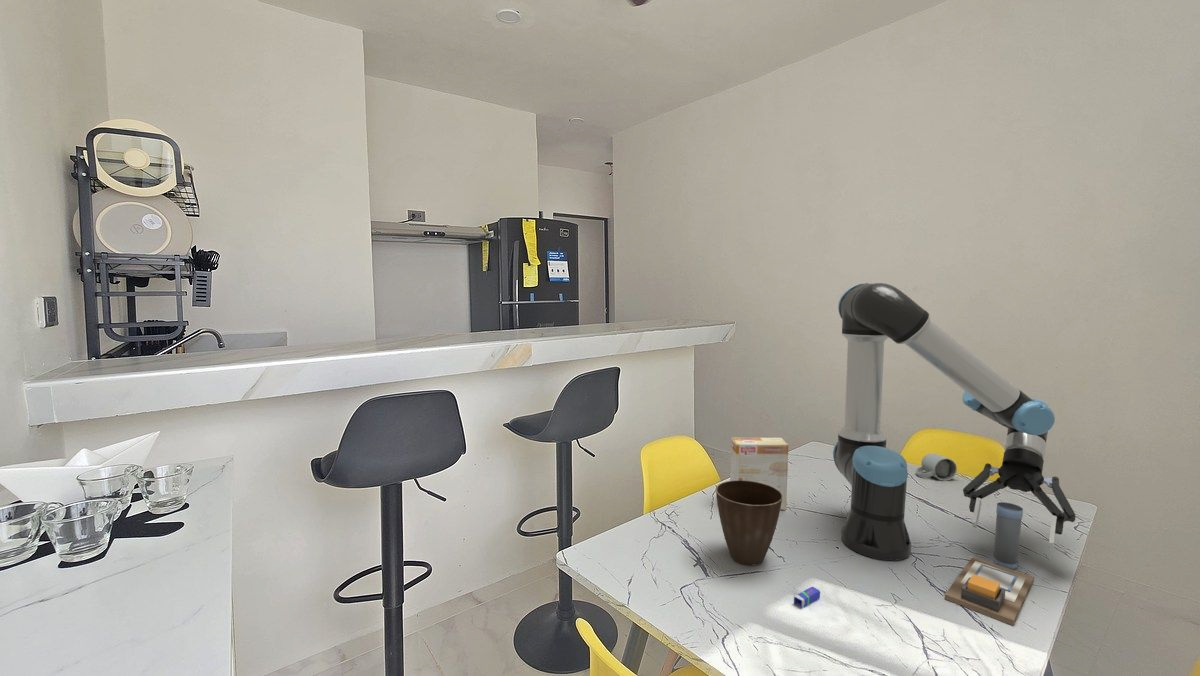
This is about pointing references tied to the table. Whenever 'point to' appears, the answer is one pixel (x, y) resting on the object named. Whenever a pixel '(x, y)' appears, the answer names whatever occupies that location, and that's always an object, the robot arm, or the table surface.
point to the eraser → (807, 596)
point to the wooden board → (1010, 592)
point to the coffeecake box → (761, 462)
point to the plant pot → (748, 518)
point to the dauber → (1007, 535)
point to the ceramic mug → (937, 467)
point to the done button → (984, 586)
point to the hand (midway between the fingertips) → (1011, 535)
